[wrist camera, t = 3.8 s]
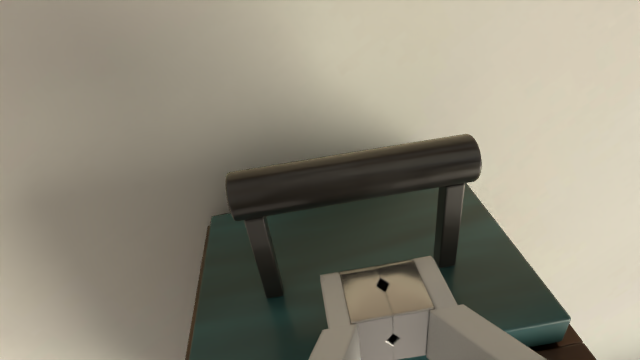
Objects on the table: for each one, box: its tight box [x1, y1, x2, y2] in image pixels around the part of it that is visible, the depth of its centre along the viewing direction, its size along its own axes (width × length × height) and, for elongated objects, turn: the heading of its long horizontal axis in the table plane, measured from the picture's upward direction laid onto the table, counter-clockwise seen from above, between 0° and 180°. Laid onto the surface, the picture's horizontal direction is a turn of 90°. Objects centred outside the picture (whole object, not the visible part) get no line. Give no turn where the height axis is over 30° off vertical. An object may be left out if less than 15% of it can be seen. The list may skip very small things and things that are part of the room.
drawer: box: [189, 134, 571, 360], centre depth 17 cm, size 18×11×8 cm, turn 6°
